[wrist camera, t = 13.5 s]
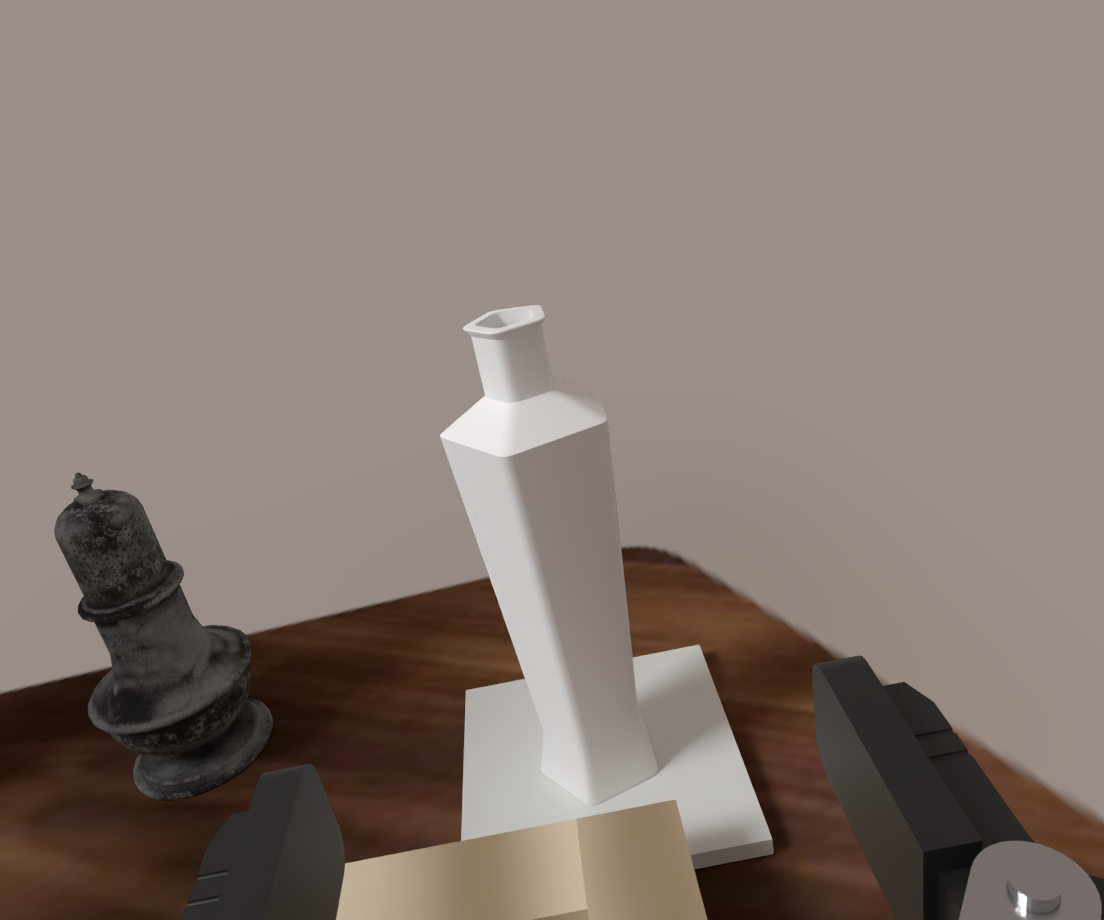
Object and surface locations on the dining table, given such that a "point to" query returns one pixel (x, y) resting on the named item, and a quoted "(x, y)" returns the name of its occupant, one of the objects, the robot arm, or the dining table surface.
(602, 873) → the frame
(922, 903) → the robot arm
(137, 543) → the black chess piece
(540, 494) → the white vase
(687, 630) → the dining table surface
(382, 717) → the dining table surface
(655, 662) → the coaster
